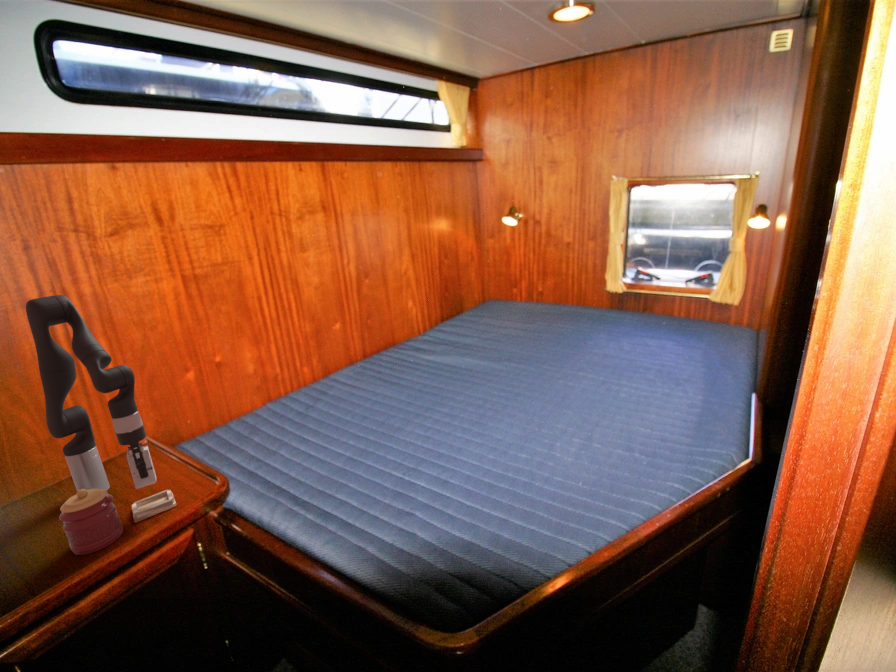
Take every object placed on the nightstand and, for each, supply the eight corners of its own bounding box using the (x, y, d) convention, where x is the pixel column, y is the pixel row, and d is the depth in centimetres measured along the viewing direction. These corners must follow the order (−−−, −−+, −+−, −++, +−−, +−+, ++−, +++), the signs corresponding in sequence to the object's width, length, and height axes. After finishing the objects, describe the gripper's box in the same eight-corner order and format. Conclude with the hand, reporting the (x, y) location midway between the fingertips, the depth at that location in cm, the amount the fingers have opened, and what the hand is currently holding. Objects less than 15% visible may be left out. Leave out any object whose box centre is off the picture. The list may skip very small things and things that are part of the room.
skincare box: (135, 490, 147) (124, 456, 144) (136, 484, 151) (125, 451, 148) (157, 482, 150) (147, 449, 148) (157, 477, 154) (147, 444, 151)
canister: (97, 527, 145) (80, 478, 141) (134, 526, 144) (118, 476, 140) (60, 556, 133) (40, 504, 129) (99, 555, 131) (80, 502, 127)
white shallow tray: (132, 509, 153) (130, 503, 153) (172, 494, 160) (170, 487, 160) (134, 522, 145) (132, 516, 145) (176, 505, 152) (174, 499, 152)
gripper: (114, 425, 149) (129, 472, 153) (116, 438, 138) (132, 487, 142) (140, 417, 154) (154, 463, 158) (144, 429, 142) (159, 477, 146)
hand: (144, 474), depth 150 cm, fingers closed on skincare box, 4 cm apart
